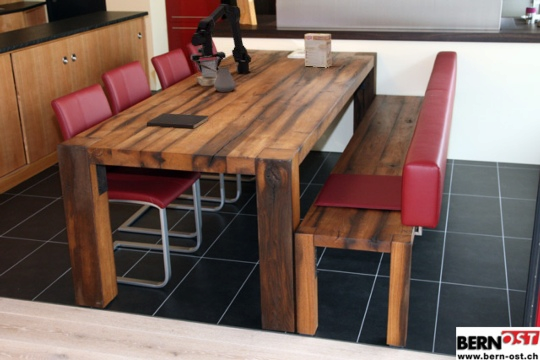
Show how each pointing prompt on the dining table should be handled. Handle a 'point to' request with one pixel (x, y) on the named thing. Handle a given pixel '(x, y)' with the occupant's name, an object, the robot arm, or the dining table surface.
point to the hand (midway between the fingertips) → (209, 71)
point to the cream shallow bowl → (206, 80)
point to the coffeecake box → (317, 50)
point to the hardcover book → (178, 120)
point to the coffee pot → (222, 78)
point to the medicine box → (209, 72)
